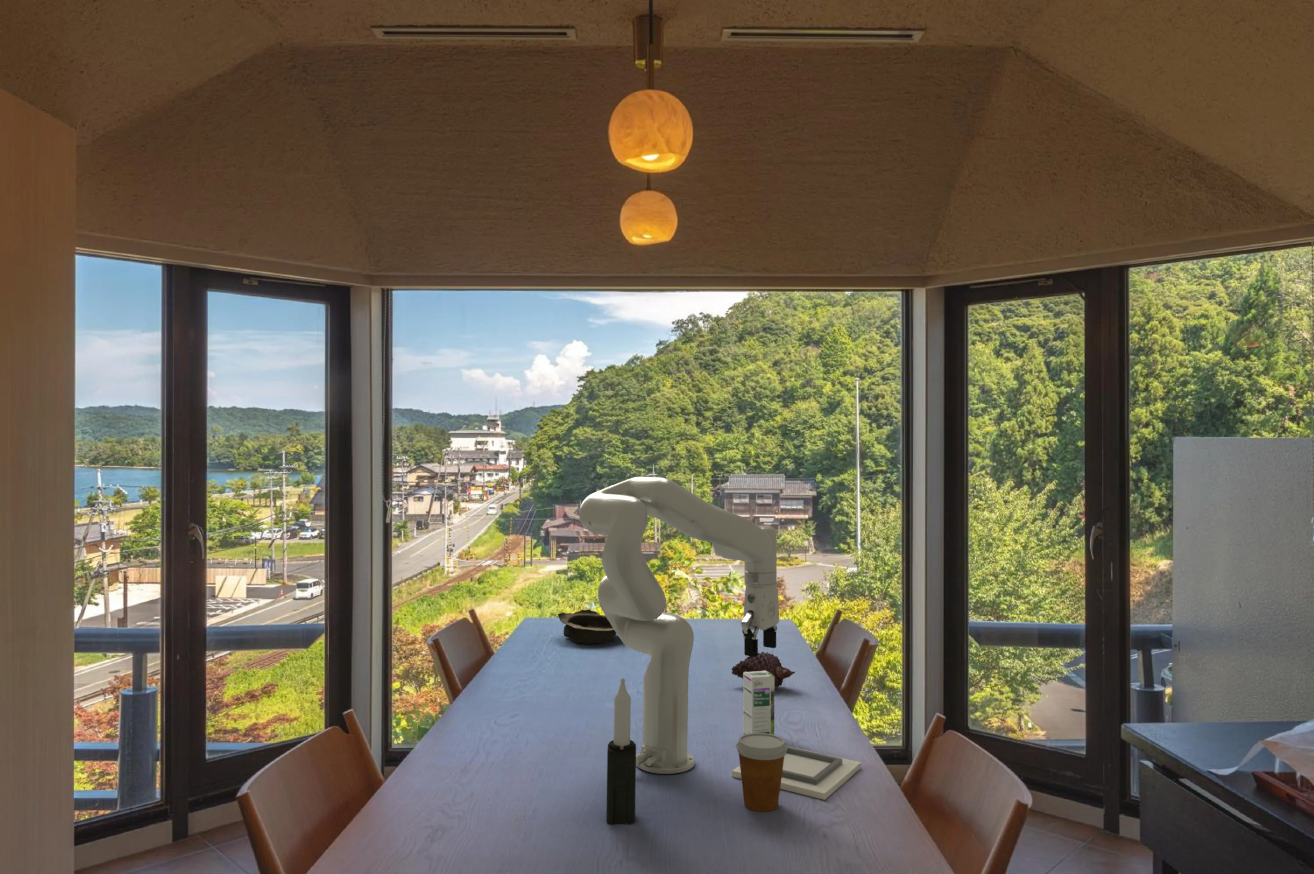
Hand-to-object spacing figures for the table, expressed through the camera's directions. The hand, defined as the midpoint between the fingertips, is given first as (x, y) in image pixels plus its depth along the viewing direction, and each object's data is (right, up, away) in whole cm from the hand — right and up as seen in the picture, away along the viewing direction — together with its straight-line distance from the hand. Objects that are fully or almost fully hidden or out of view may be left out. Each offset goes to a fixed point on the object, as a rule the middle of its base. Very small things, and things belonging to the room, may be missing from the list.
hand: (760, 651), depth 198 cm
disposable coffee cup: (-5, -19, -40) cm, 44 cm away
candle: (-31, -18, -47) cm, 59 cm away
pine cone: (+5, -21, +40) cm, 45 cm away
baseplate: (+5, -19, -23) cm, 31 cm away
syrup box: (-1, -20, -1) cm, 20 cm away
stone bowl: (-47, -21, +98) cm, 111 cm away
